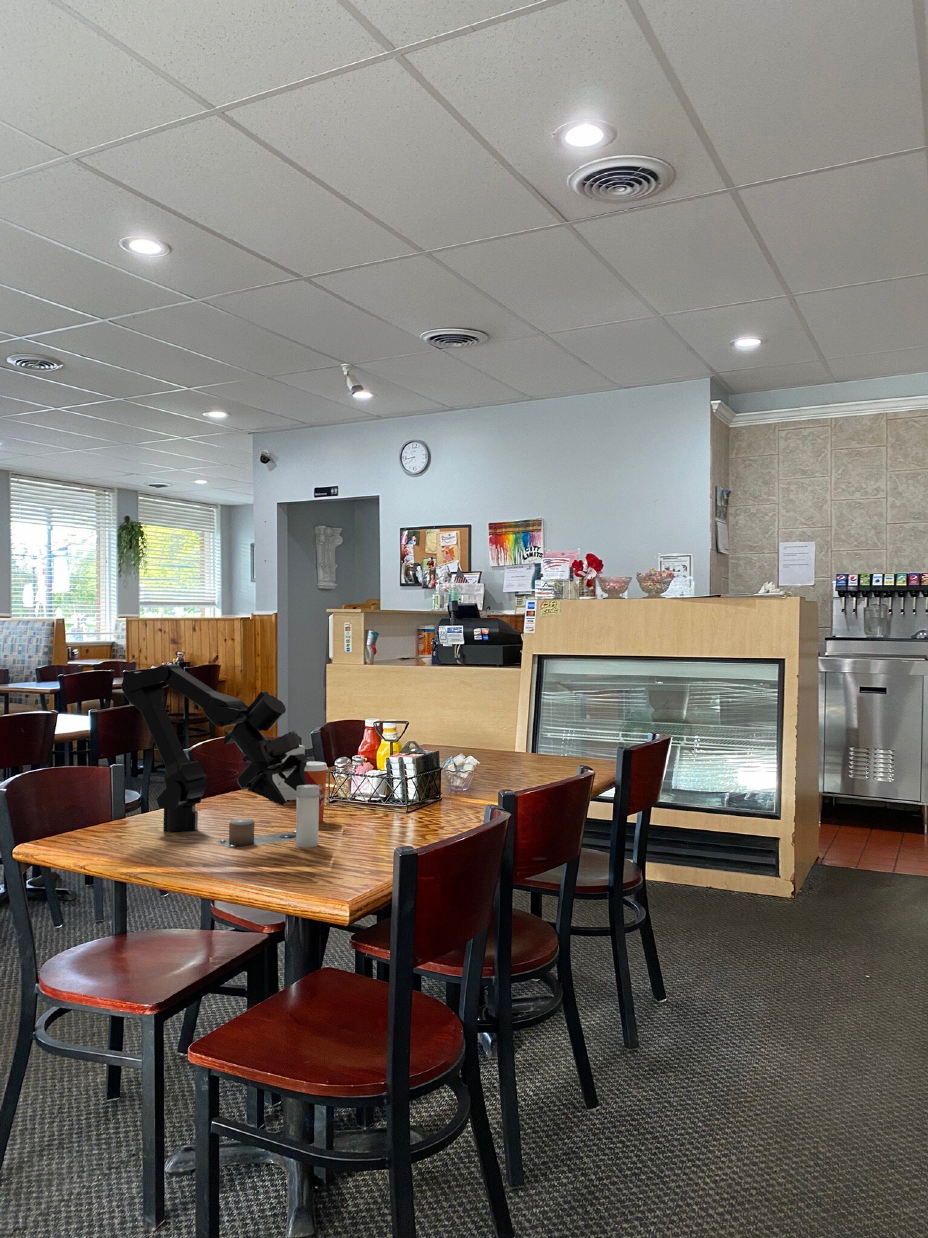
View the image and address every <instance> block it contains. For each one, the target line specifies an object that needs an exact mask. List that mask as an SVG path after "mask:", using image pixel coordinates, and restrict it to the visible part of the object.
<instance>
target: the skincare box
mask: <svg viewBox="0 0 928 1238" xmlns="http://www.w3.org/2000/svg"><path fill="white" fill-rule="evenodd" d="M299 746H300V747H299V748H297V749H293V750H291V751H289V752H287V753H286V754H287V756H286V757H285V759H283V760H282V763H283V762H284V761H285V760H286V759H287V758H288V757H289V756H290V755H293V754H298V753H301V754H304V755H306V754H305V753H306V752H305V750H306V748H305V745H301V744H299ZM272 776H273V781H274V783H275V784H276V786H277V788H278V789H279V791H280V792H281V794H282V795H283V797H284V799H285V801H286V802H288V801H287V800H290V801H297V796H296V795H297V791H295V790H294V789H293V788H291V787H290V786H288V785H287V784H286V783H284V779H282V778H281V777H280V776H279V775H278V774H274V775H272Z"/></svg>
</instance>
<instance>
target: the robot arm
mask: <svg viewBox="0 0 928 1238" xmlns="http://www.w3.org/2000/svg"><path fill="white" fill-rule="evenodd" d="M120 685H121V690H122V692H123V694H124V696H125V697H126V699H127V700H128V703H130V704H131V705H133V706H134V707H135V708H136V709H138V710H139V711H140V713H141V714H142V717H143V719H144V721H145V723H146V725H147V728H148V731H149V732H150V734H151V738H152V739H153V741H154V744H155V746H156V748H157V750H158V752H159V755H160V757H161V759H162V761H163V764H164V766H165V772H164V783H165V787H166V788H165V789H164V790H163V791H162V793H161V794H159V796H157V798H156V801H157V802H156V803H157V806H158V808H159V809H163V828H162V829H163V832H167V833H171V834H172V833H178V834H179V833H187V832H195V831H197V830H198V822H199V820H198V817H199V813H198V812H199V811H197V810H196V804H197V805H199V804H201V802H202V798H203V795H204V794H205V792H206V789H207V787H208V781H207V779H206V778H208V776H207V774H206V773H205V771H204V770H203V766H202V763H201V762H200V761H199V760H196V761H191V760H190V759H189V758H188V756H187V754H186V752H185V751H184V749H183V745H182V744H181V741H180V739H179V736H178V735H177V731H176V730H175V728H174V726H173V724H172V722H171V719H170V717H169V715H168V712H167V709H166V708H165V706H164V704H163V702H164V701H163V700H164V692H165V691H164V688H167V687H170V688H172V689H174V690H175V691H176V692H178V693H179V694H181V695H182V696H184V697H186V698H187V699H188V700H190V701H192V702H193V703H194V704H196V705H197V706H199V707H200V708H201V709H202V710H203V713H204V715H205V716H206V718H207V719H208V720H209V721H211V723H212V724H213V725H215V726H217V727H219V728H225V727H230V726H233V727H232V729H231V730H226V731H224V738H223V743H222V744H224V745H228V744H234V743H235V745H236V746H237V747H238V749H239V751H241V752H242V754H243V755H244V757H243V758H242V761H243V762H244V763H248V764H247V766H246V767H245V768H244V769H243V771H241V772H240V774H239V775H238V776H237V784H238V786H239V787H240V788H241V791H244V790H247V791H248V792H249V793H250V792H251V793H254V794H256V795H258V796H260V797H264V798H265V799H268V800H269V801H271V802H273V803H276V804H277V805H280V806H281V807H283V806H285V805H286V804H287V801H285V799H284V797H283V795H282V794H281V792H280V791H279V789H278V788H277V786H276V784H275V783H274V781H273V776H272V775H274V774H278V775H279V776H280V777H281V778H282V779H284V783H286V784H287V785H288V786H290V787H291V788H293V789H294V790H295V791H297V786H300V785H307V782H306V779H305V776H304V769H305V767H306V765H307V762H309V759H308V758H307V757H306V754H301V753H298V754H293V755H290V756H289V757H288V758H287V759H286V760H285V761H284V762H283V763H282V760H283V759H285V757H286V756H287V754H286V753H287V752H289V751H291V750H293V749H297V748H299V747H300V746H299V745H301V741H302V740H301V739H302V738H301V736H299V735H298V733H296V732H295V731H294V730H293V731H292V730H291V731H288V733H285V734H284V735H280V736H279V737H276V738H275V739H273V738H270V739H267V737H266V736H265V735H264V734H263V733H262V731H264V732H268V731H270V730H271V729H272V728H273V726H274V725H275V724H276V723H277V722H278V721H279V720H280V719H281V717H282V716H283V715H284V714H285V713H286V712H287V709H286V705H285V704H284V703H283V701H282V700H279V699H278V698H277V697H275V696H273V695H271V694H269V692H268V691H266V690H265V691H260V692H259V693H258V694H257V696H256V698H255V699H254V700H253V701H252V702H251V704H249V705H248V704H246V703H245V702H244V701H243V700H241V699H239V698H237V697H234V696H232V695H229V694H225V693H222V692H218V691H216V690H214V689H212V688H211V686H209V685H207V684H205V683H204V682H203V681H201V680H200V679H198V678H196V677H195V676H193V675H192V674H190V673H189V672H188V671H185V670H184V669H182V667H181V666H180V665H178V664H176V663H175V664H174V663H173V664H171V663H170V664H161V665H160V666H156V667H154V668H151V669H146V670H142V671H130V672H128V673H126V675H124V676H123V678H122V682H121V684H120Z"/></svg>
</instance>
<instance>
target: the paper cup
mask: <svg viewBox="0 0 928 1238" xmlns="http://www.w3.org/2000/svg"><path fill="white" fill-rule="evenodd" d="M328 770H329V767H328V766H327V763H326V762H323V761H308V762H307V765H306V767H305V769H304V776H305V779H306V782H307V785H318V786H319V824H321V823H323V822H324V812H325V803H326V801H325V799H326V786H327V785H326V784H327V771H328Z"/></svg>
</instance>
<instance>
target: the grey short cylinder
mask: <svg viewBox="0 0 928 1238" xmlns="http://www.w3.org/2000/svg"><path fill="white" fill-rule="evenodd" d="M254 820H255V819H253V818H245V817H244V818H234V819H231V820H230V821H229V824H228V840H229V844H233V845H246V844H251V843H254V836H255V821H254Z"/></svg>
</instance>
